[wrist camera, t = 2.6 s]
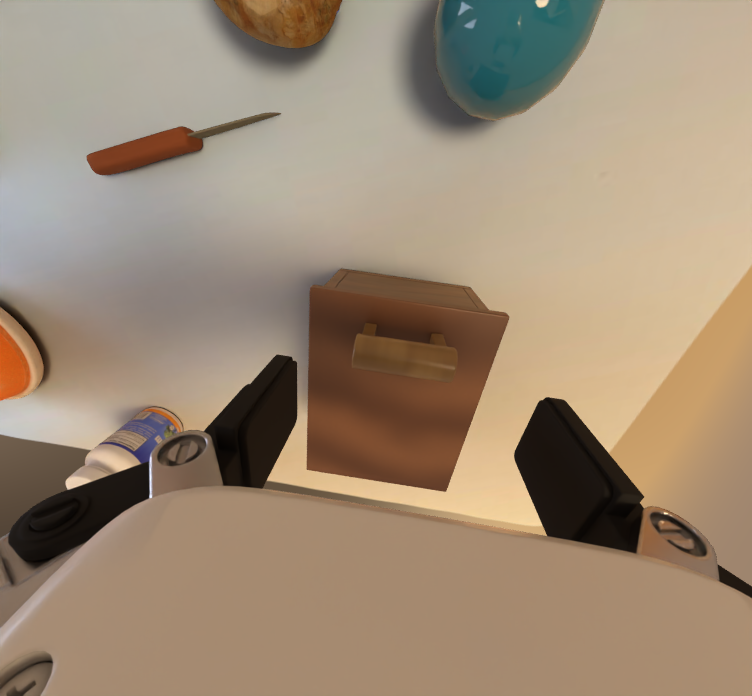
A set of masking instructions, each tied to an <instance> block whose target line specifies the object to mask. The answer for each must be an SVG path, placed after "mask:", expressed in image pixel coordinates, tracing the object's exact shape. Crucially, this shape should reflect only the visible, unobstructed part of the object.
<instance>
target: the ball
mask: <svg viewBox="0 0 752 696" xmlns="http://www.w3.org/2000/svg"><path fill="white" fill-rule="evenodd" d="M604 1H605V0H439V3H438V8H437V13H436V18H435V23H434V44H435V57H436V69H437V72H438V75H439V77H440V79H441V81H442V84H443V86H444V88H445V90H446V92H447V95H448V97H449V99H450V100H452V101H453V102H454V103H455V104H456V105H457V106H458V107H460V108H461V109H462V110H463V111H464V112H465V113H466V114H468V115H469V116H473V117H477V118H482V119H486V120H491V121H496V120H500V119H503V118H507V117H511V116H515V115H519V114H522V113H524V112H526V111H527V110H529V109H530V108H531V107H533V106H534V105H535V104H537V103H538V102H539V101H541V100H542V99H543V98H545V97H546V96H548V95H549V94H550V93H552V92H553V91H554V90H555V89H556V88H557V87H558V86H559V85H560V83H561V82H562V80H563V79H564V78H565V76H566V75H567V74H568V72H569V71H570V70H571V68H572V67H573V66H574V64H575V63H576V61H577V60H578V59H579V57H580V56H581V55H582V53H583V52H584V50H585V48H586V46H587V44H588V42H589V40H590V37H591V35H592V32H593V29H594V27H595V24H596V22H597V19H598V17H599V14H600V11H601V9H602V6H603V4H604Z"/></svg>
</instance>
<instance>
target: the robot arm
mask: <svg viewBox="0 0 752 696" xmlns="http://www.w3.org/2000/svg"><path fill="white" fill-rule="evenodd" d="M296 420H297V362H296V361H293V359H292V357H289V356H283V355H276V356H275V357H274V358H273V359H272V360H271V361H270V362H269V364H268V365H267V366H266V367H265V368H264V369H263V370H262V371H261V373H260V374H259V375H258V376H257V377H256V378H255V379H254V381H253V382H252V383H251V384H248V385H246V386H244V387H243V388H242V390H241V391H240V392H239V393H238V394H237V395H236V396H235V397H234V398H233V399H232V401H231V402H230V403H229V404H228V405H227V406H226V407H225V408H224V409H223V411H222V412H221V413H220V414H219V415H218V416H217V417H216V418H215V419H214V421H213V422H212V423H211V424H210V425H209V426H208V427H207V428H206V429H205V431H204V432H203V431H199V430H188V431H183V432H179V433H176V434H174V435H171V436H169V437H167V438H166V439H164V440H162V441H161V442H160V443H159V444H158V445H156V446H155V448H154V449H153V451H152V452H151V455H150V461H147V462H145V463H142V464H139V465H136V466H134V467H131V468H128V469H125V470H122V471H120V472H117V473H114V474H111V475H108V476H106V477H103V478H100V479H97V480H94V481H92V482H89V483H86V484H83V485H80V486H78V487H75V488H72V489H69V490H66V491H64V492H61V493H58V494H56V495H54V496H51V497H49V498H47V499H46V500H43V501H42V502H40V503H38V504H37V505H35V506H33V507H32V508H31V509H30V510H28V511H27V512H26V513H25V514H23V515H22V516H21V517H20V518H19V519H18V521H17V522H16V523H15V524H14V525H13V527H12V529H11V531H10V533H9V534H7V535H5V536H4V537H1V538H0V696H752V586H750V585H749V584H747V583H746V582H744V581H742V580H741V579H739V578H738V577H736V576H735V575H733V574H732V573H730V572H729V571H727V570H725V569H724V568H722V567H721V566H719V565H718V564H717V556H716V553H715V551H714V548H713V547H712V545H711V544H710V543H709V541H708V540H707V539H706V538H705V537H704V536H703V535H702V533H700V532H699V530H697V529H696V528H695V527H693V526H692V525H691V524H690V523H689V522H687V521H686V520H684V519H683V518H681V517H679V516H678V515H676V514H674V513H672V512H670V511H668V510H665V509H662V508H659V507H652V506H650V507H647V508H645V509H644V508H643V507H642V505H641V504H640V501H641V500H642V499H643V498H644V496H643V495H642V494H641V492H640V491H639V490H638V489H637V487H636V486H635V485H634V484H633V483H632V482H631V480H630V479H629V478H628V476H627V475H626V474H625V473H624V472H623V470H622V469H621V468H620V467H619V466H618V464H617V463H616V462H615V461H614V459H613V458H612V457H611V456H610V455H609V453H608V452H607V451H606V450H605V448H604V447H603V446H602V445H601V444H600V442H599V441H598V440H597V439H596V437H595V436H594V435H593V434H592V433H591V431H590V430H589V429H588V428H587V427H586V425H585V424H584V423H583V422H582V420H581V419H580V418H579V417H578V416H577V414H576V413H575V412H574V411H573V409H572V408H571V407H570V406H569V405H568V403H567V402H566V401H565V400H562V399H556V398H549V397H547V398H545V399H544V400H541V401H539V403H538V404H537V406H536V408H535V411H534V413H533V415H532V417H531V419H530V421H529V423H528V425H527V427H526V429H525V431H524V433H523V435H522V437H521V440H520V442H519V444H518V446H517V448H516V450H515V453H514V458H515V462H516V464H517V467H518V469H519V471H520V474H521V476H522V478H523V481H524V483H525V485H526V488H527V490H528V492H529V495H530V497H531V499H532V502H533V504H534V506H535V509H536V511H537V513H538V516H539V518H540V520H541V523H542V525H543V527H544V529H545V532H546V534H547V536H543V535H538V534H532V533H526V532H521V531H515V530H509V529H503V528H498V527H493V526H487V525H481V524H475V523H470V522H464V521H458V520H452V519H446V518H441V517H435V516H429V515H423V514H417V513H411V512H406V511H400V510H393V509H388V508H382V507H376V506H370V505H363V504H358V503H352V502H346V501H339V500H333V499H328V498H322V497H316V496H309V495H302V494H295V493H289V492H282V491H275V490H269V489H262V488H263V486H264V484H265V482H266V480H267V478H268V476H269V474H270V472H271V471H272V469H273V467H274V465H275V463H276V461H277V459H278V457H279V455H280V453H281V451H282V449H283V447H284V445H285V443H286V441H287V439H288V437H289V435H290V433H291V431H292V429H293V428H294V426H295V423H296Z"/></svg>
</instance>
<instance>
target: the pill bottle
mask: <svg viewBox="0 0 752 696" xmlns="http://www.w3.org/2000/svg"><path fill="white" fill-rule="evenodd" d="M179 432H183V427H182V424H181V422H180V421H179V419H178V418H177V417H176V416H175V415H174V414H172V413H171V412H169V411H167V410H165V409H162V408H158V407H151V408H147V409H145V410H143V411H142V412H141V413H139V414H138V415H137V416H136V417H134V418H133V419H132V420H130V421H129V422H128V423H127V424H125V425H124V426H123V427H121V428H120V429H119V430H117V431H116V432H115V433H113V434H112V435H111V436H110V437H108V438H107V439H106V440H104V441H103V442H102V443H100V444H99V445H98V446H97V447H95V448H94V449H93V450H91V451H90V452H89V453H88V455H87V456H86V459H85V465H86V466H83V467H81V468H79V469H78V470H77V471H76V472H75V473H74V474H72V475H71V476H70V477H69V478H68V479H67V480H66V487H67V489H68V490H69V489H72V488H75V487H78V486H80V485H83V484H86V483H89V482H92V481H94V480H97V479H100V478H103V477H106V476H108V475H111V474H114V473H117V472H120V471H122V470H125V469H128V468H131V467H134V466H136V465H139V464H142V463H145V462H147V461H150V455H151V452H152V451H153V449H154V448H155V446H156V445H158V444H159V443H160V442H161V441H162V440H164V439H166V438H167V437H169V436H171V435H174V434H176V433H179Z"/></svg>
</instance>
